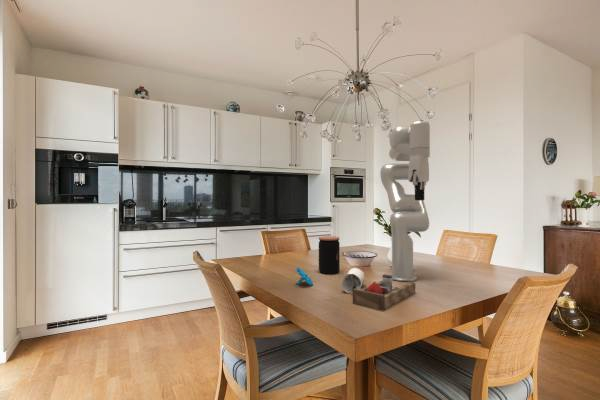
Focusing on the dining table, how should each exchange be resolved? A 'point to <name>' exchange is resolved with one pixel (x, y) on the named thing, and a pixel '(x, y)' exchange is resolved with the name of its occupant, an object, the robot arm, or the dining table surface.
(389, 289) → the grey angular piece
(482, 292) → the dining table surface
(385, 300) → the guide
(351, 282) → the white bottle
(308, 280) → the gear
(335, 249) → the coffee jar
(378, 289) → the pomegranate
